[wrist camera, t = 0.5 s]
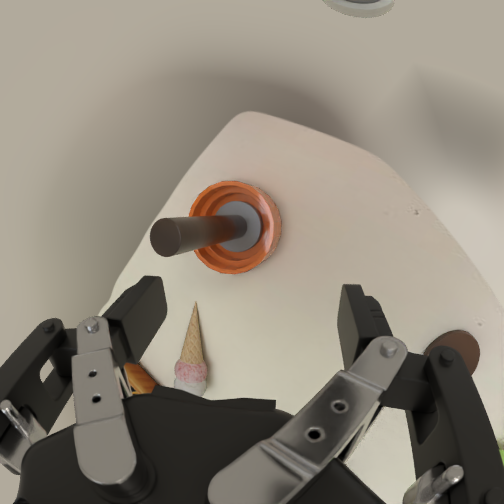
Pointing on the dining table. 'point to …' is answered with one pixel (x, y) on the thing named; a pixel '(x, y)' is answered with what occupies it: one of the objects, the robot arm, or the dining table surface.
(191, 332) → the ice cream cone
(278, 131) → the dining table surface
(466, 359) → the disc
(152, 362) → the dining table surface
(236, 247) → the masher
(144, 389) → the hot dog
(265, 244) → the orange bowl
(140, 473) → the robot arm
